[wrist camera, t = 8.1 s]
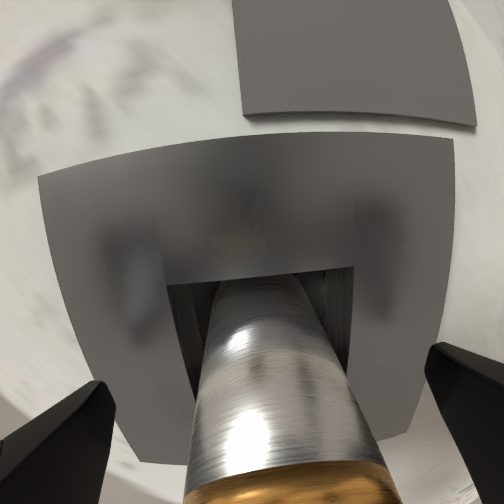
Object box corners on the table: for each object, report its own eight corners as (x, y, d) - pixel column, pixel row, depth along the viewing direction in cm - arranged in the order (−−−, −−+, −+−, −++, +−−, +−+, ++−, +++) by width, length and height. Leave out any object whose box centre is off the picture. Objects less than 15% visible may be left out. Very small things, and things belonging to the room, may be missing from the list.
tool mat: (435, -18, 7) (439, -21, 7) (471, 126, 9) (477, 126, 9) (226, -49, 7) (226, -54, 6) (242, 116, 9) (243, 114, 9)
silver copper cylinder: (305, 258, 11) (443, 484, 2) (306, 341, 12) (378, 549, 3) (206, 268, 11) (141, 526, 2) (219, 350, 12) (206, 572, 3)
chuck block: (404, 141, 10) (453, 138, 7) (384, 392, 13) (406, 432, 10) (84, 171, 9) (37, 176, 6) (152, 417, 13) (140, 461, 10)
